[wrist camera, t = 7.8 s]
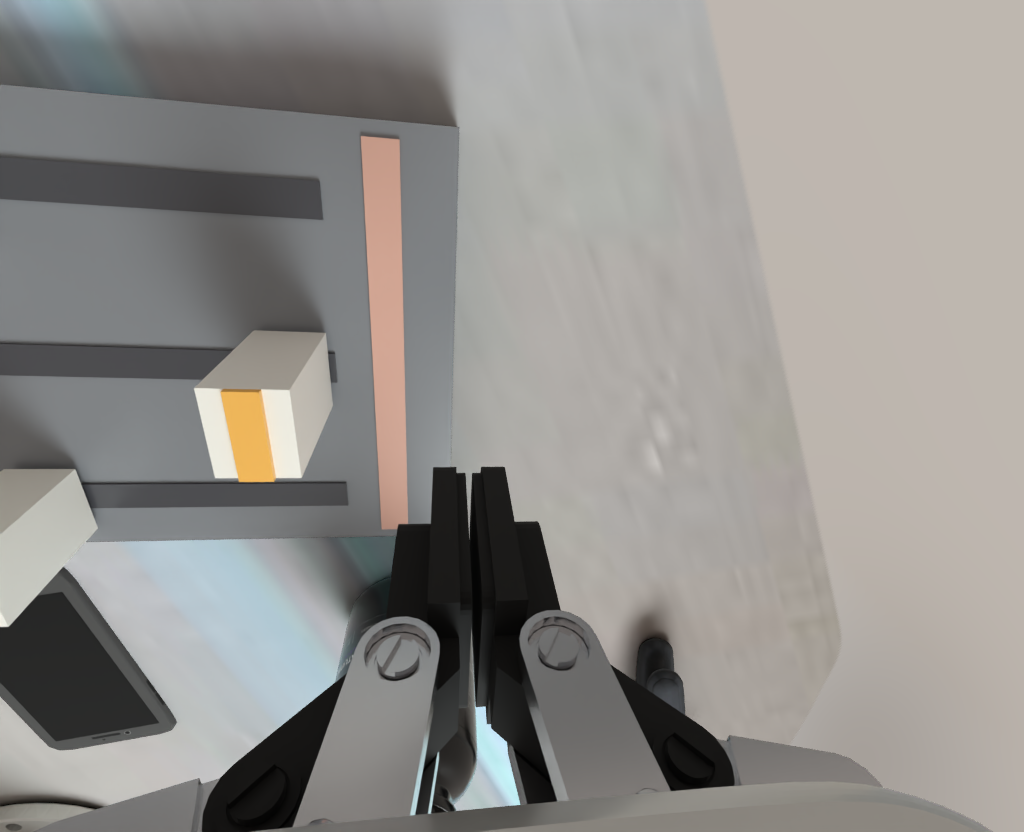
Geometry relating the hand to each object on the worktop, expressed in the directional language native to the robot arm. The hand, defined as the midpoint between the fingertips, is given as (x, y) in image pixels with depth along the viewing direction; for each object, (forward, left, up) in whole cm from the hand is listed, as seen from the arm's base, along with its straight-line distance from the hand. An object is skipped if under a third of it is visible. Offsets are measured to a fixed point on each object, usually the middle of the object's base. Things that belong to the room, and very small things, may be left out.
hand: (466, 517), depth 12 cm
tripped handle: (0, +6, -9) cm, 11 cm away
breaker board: (0, +11, -11) cm, 16 cm away
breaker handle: (-6, +16, -9) cm, 20 cm away
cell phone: (-19, +21, -12) cm, 31 cm away
